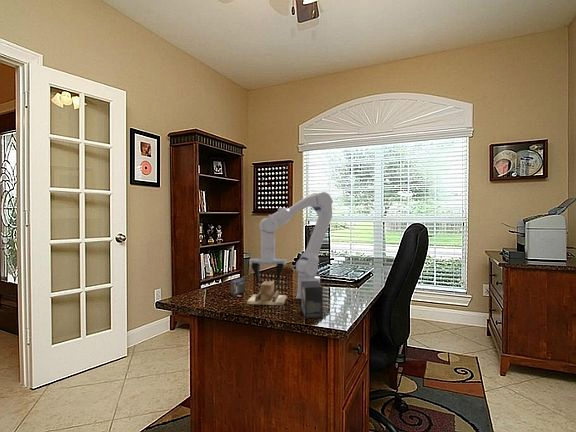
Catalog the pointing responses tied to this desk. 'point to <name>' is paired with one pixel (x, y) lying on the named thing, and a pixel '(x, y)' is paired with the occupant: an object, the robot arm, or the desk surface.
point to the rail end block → (267, 290)
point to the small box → (312, 299)
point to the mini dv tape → (237, 286)
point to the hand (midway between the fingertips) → (267, 282)
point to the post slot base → (276, 300)
